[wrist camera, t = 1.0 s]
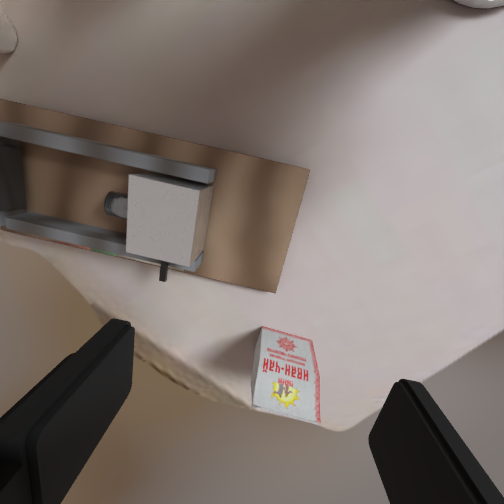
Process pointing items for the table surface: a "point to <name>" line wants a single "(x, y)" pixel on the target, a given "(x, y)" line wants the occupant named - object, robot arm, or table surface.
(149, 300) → the table surface
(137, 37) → the table surface
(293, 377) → the tea bag
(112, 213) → the slider
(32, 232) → the gauge bench
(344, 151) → the table surface
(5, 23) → the milkshake
